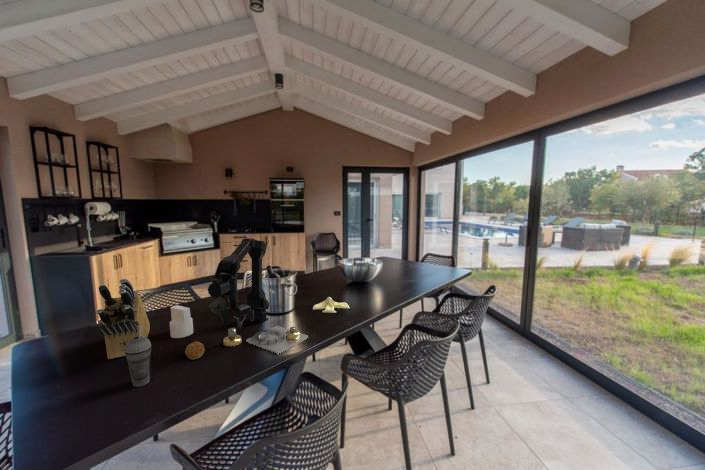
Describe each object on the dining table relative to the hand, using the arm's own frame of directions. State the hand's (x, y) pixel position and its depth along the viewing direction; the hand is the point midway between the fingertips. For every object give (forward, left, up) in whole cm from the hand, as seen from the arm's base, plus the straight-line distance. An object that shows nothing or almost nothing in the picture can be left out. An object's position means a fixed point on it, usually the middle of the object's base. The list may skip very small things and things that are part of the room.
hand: (232, 326), depth 129 cm
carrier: (+14, +12, -7) cm, 20 cm away
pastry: (-4, -14, -7) cm, 16 cm away
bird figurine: (+6, +57, -8) cm, 58 cm away
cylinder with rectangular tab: (-27, -7, -7) cm, 29 cm away
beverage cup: (0, -34, -7) cm, 35 cm away
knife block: (-31, -26, -7) cm, 41 cm away
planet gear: (0, 0, -7) cm, 7 cm away
